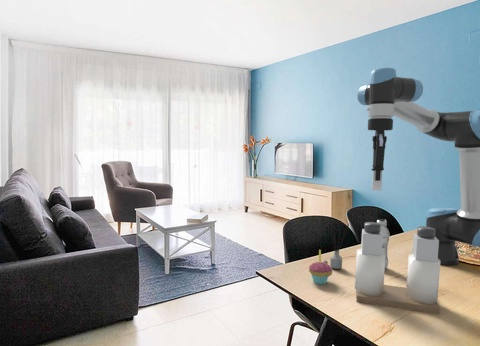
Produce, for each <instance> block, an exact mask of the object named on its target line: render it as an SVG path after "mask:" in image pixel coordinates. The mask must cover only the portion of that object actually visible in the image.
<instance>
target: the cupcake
mask: <svg viewBox="0 0 480 346" xmlns="http://www.w3.org/2000/svg"><path fill="white" fill-rule="evenodd" d="M321 252H322V250H318V261H316V262H313V263H311V264H310V265H309V268H308V272H309V273H310V275H311V278H312V281H313V283H315V284H318V285H325V284H327V281H328V279H329V277H330V276H331V275H333V268H332V267H331V266H330V264H329V263H328V264H326V263H323V261H322V253H321Z"/></svg>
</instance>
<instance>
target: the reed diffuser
mask: <svg viewBox="0 0 480 346" xmlns="http://www.w3.org/2000/svg"><path fill="white" fill-rule="evenodd" d="M342 223H343V222H342V220H341V221H340V228H339V233H338V235H339V236H338V240H337V242H336V240H335V239H336V233H335V231H333V233H332V227H331V223H330V220H329V219H328V226H329V229H330V233H331V238H332V242H333V246H334V249H333V251H334V252H333V255H331V256H330V261H329V262H328V260H327V259H325V260H324V261H322V262H323V263H326V264H328V265H330V267H331V268H332V269H336V270H338V269H342V268H343V257H342V256H341V255H340V249H341V246H342V243H343V241H344V238H345V237H346V233H347V231H348V227H349V225H350V223H348V224H347V227H346V230H345V232H344V235H343V238H342V239H341V242H340V237H341V229H342ZM332 226H333V230H335V224H332ZM333 235H334V236H333ZM336 243H337V244H336ZM339 243H340V246H339Z"/></svg>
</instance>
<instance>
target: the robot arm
mask: <svg viewBox="0 0 480 346" xmlns="http://www.w3.org/2000/svg"><path fill="white" fill-rule="evenodd" d="M423 93H424V85H423V83H422V82H421V80H419V79H416V78H413V77H410V78H409V77H401V76H400V77H399V76H397V71H396V69H395V68H394V67H379V68H375V69H373V70H372V71H371V73H370V78H369V82H368V84H366V85H362V86H361V87H360V88H359V89H358V91H357V95H356V97H357V101H358V103H359V104H360V105H362V106H368V107H367V108H366V111H368V117H369V118H368V120H367V130H368V131H375V132H374V135H372V138H371V139H372V151H373V153H372V154H373V155H372V168H371V171H372V181H371V182H372V184H371V185H372V186H371V187H372V188H371V190H372V191H378V192H379V191H380V192H381V191H382V182H383V171H384V170H385V168H384V162H385V150H386V143H387V140H388V139H387V137H388V136H386V135H385V134H386V133H385V131H392V130H393V127H394V119H393V117H396V118H398V119H400V120H403V121H404V122H407V123H408V124H410V125H413V126H415V127H416V129H417V130H418V131H419V132H421V133H423V134H424V135H427V136H429V137H432V138H434V139H436V140H437V139H438V140H440V141H443V142H444V141H445V142H453V143H454V149H456V150H457V151H458V152H459V155H458V156H459V184H460V185H459V187H460V188H459V189H460V209H458V208H453V207H432V208H429V209H428V210H427V213H426V216H425V217H426V218H425V219H426V222H425V227H431V228H434V229H436V232H435V237H436V238H437V239H438V240H439V248H438V259H440V261H441V262H440V265H442V266H454V265H455V266H456V265H458V264H460V257H459V252H458V250H457V249H458V248H457V246H456V243H457V242H458V243H462V244H465V245H469V246H471V247H474V248H480V110H478V109H477V110H468V111H455V112H454V111H451V112H450V111H449V112H440V111H437V110H435V109H428V108H425V107H423V106H421V105H419V104H418V103H415V102H416V101H418V100H419V99H420V98H421V96H423Z"/></svg>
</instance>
